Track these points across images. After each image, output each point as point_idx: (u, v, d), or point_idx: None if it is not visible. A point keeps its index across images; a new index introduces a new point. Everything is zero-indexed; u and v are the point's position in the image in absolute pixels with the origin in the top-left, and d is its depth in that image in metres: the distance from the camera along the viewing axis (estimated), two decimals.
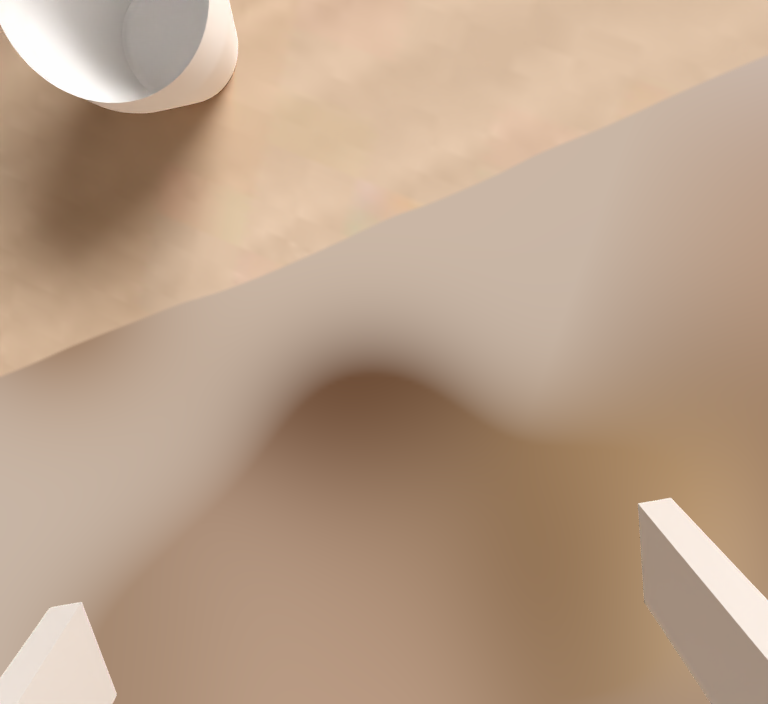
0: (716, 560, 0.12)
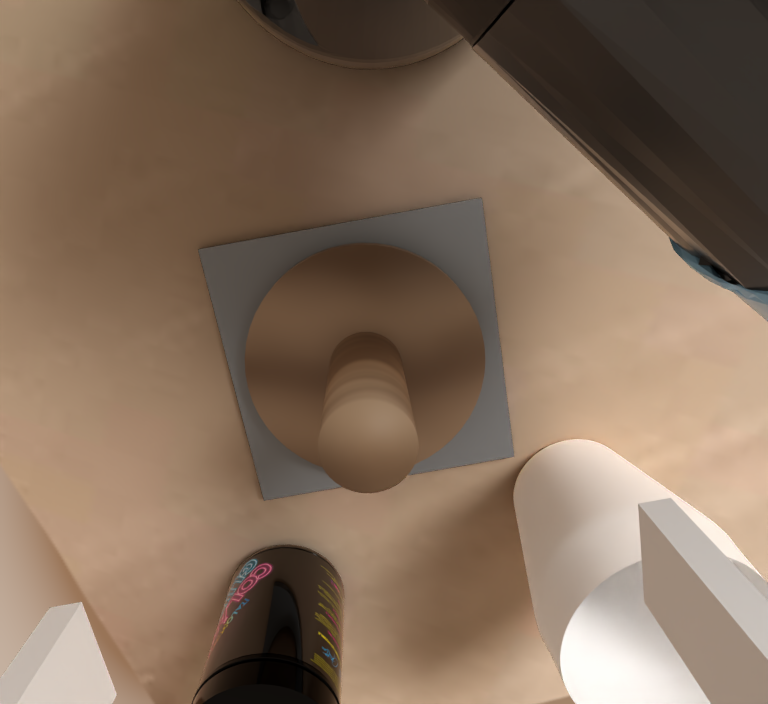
0: (716, 560, 0.12)
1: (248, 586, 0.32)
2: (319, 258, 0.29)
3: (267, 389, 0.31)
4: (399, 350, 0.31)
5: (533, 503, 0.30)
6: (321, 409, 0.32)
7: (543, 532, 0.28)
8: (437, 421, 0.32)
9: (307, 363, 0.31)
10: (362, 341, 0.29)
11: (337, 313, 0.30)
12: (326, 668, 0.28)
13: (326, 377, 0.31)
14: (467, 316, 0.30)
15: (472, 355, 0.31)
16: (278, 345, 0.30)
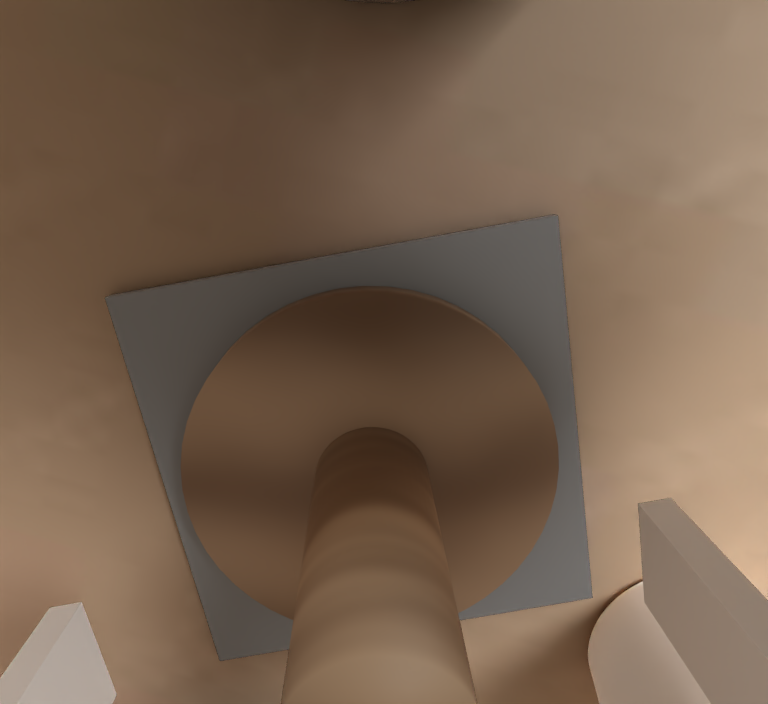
0: (716, 560, 0.12)
1: None
2: (297, 314, 0.18)
3: (218, 513, 0.20)
4: (424, 454, 0.20)
5: (636, 697, 0.19)
6: (302, 542, 0.20)
7: None
8: (481, 557, 0.21)
9: (279, 474, 0.20)
10: (366, 451, 0.18)
11: (326, 399, 0.19)
12: None
13: (310, 495, 0.20)
14: (532, 403, 0.19)
15: (538, 461, 0.20)
16: (233, 448, 0.19)
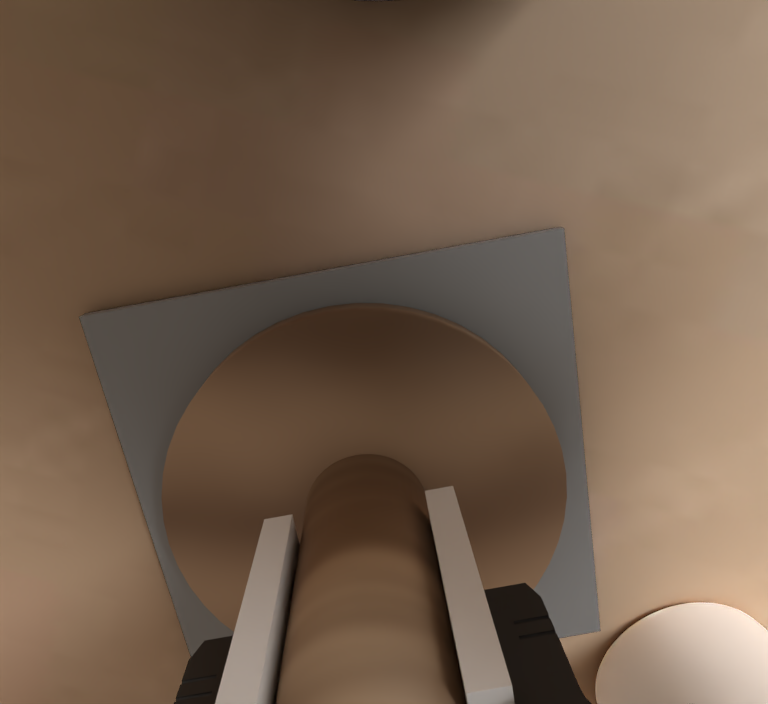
0: (457, 537, 0.14)
1: None
2: (285, 335, 0.17)
3: (202, 546, 0.19)
4: (423, 483, 0.18)
5: None
6: None
7: None
8: None
9: (268, 505, 0.18)
10: (360, 483, 0.16)
11: (318, 424, 0.18)
12: None
13: (300, 527, 0.18)
14: (539, 427, 0.18)
15: (545, 489, 0.18)
16: (218, 477, 0.18)
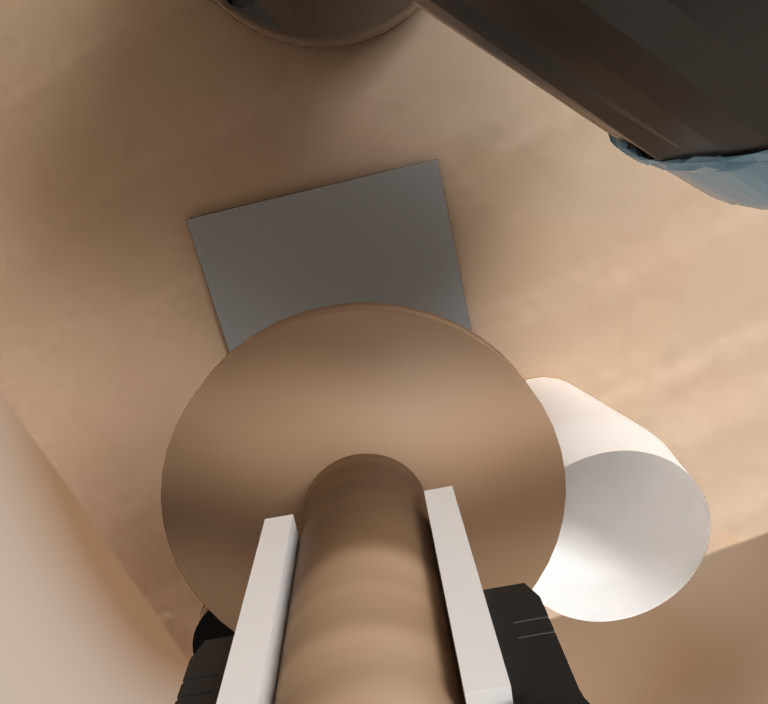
0: (456, 537, 0.14)
1: None
2: (284, 334, 0.17)
3: (202, 545, 0.19)
4: (422, 482, 0.18)
5: None
6: None
7: None
8: None
9: (267, 504, 0.18)
10: (360, 482, 0.16)
11: (317, 424, 0.18)
12: None
13: (300, 526, 0.19)
14: (537, 427, 0.18)
15: (544, 488, 0.18)
16: (217, 476, 0.18)
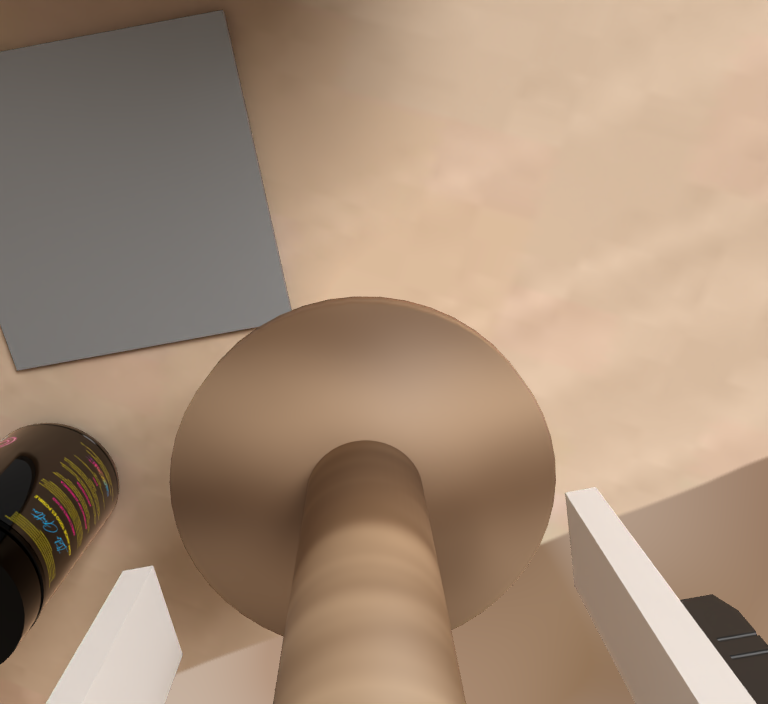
0: (625, 543, 0.13)
1: None
2: (288, 326, 0.18)
3: (208, 528, 0.19)
4: (419, 468, 0.19)
5: None
6: (295, 557, 0.20)
7: None
8: (477, 572, 0.20)
9: (271, 489, 0.19)
10: (359, 466, 0.17)
11: (318, 412, 0.19)
12: (29, 529, 0.25)
13: (302, 510, 0.19)
14: (528, 415, 0.19)
15: (535, 474, 0.19)
16: (223, 462, 0.19)
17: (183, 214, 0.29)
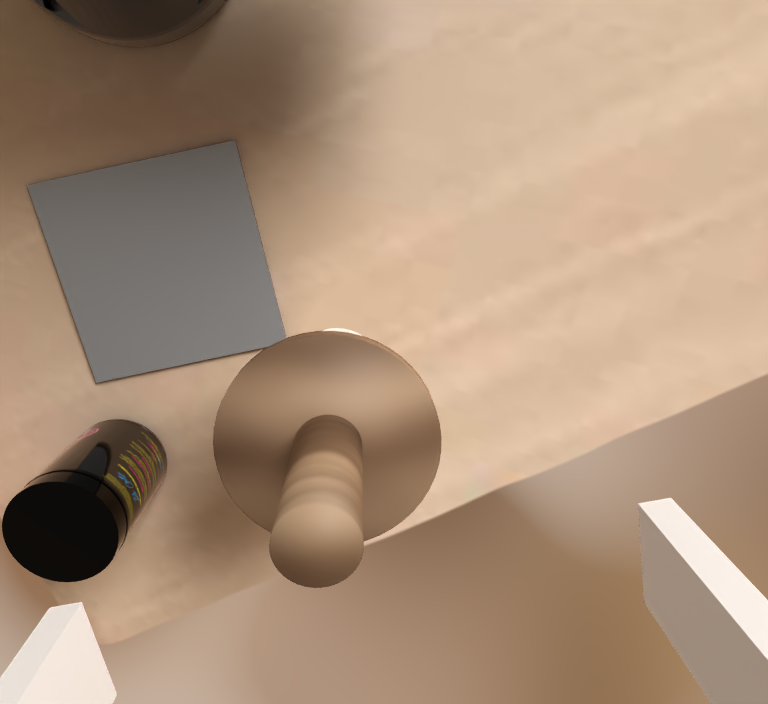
0: (716, 560, 0.12)
1: (76, 441, 0.42)
2: (279, 349, 0.31)
3: (236, 470, 0.33)
4: (359, 430, 0.33)
5: None
6: None
7: None
8: (398, 494, 0.34)
9: (272, 445, 0.33)
10: (321, 427, 0.31)
11: (298, 398, 0.32)
12: (117, 484, 0.38)
13: (291, 457, 0.33)
14: (421, 397, 0.32)
15: (428, 432, 0.33)
16: (244, 430, 0.32)
17: (210, 273, 0.43)
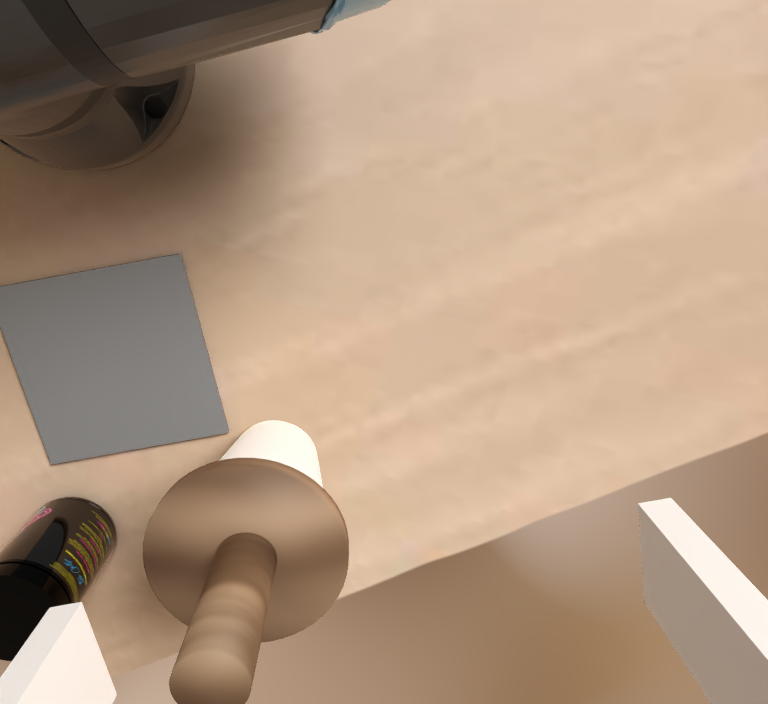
0: (716, 560, 0.12)
1: (30, 522, 0.46)
2: (201, 477, 0.35)
3: (163, 578, 0.37)
4: (274, 546, 0.36)
5: None
6: None
7: None
8: (310, 600, 0.38)
9: (196, 557, 0.36)
10: (236, 550, 0.34)
11: (219, 518, 0.36)
12: (63, 572, 0.42)
13: None
14: (330, 519, 0.36)
15: (337, 549, 0.37)
16: (171, 544, 0.36)
17: (157, 370, 0.46)
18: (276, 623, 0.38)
